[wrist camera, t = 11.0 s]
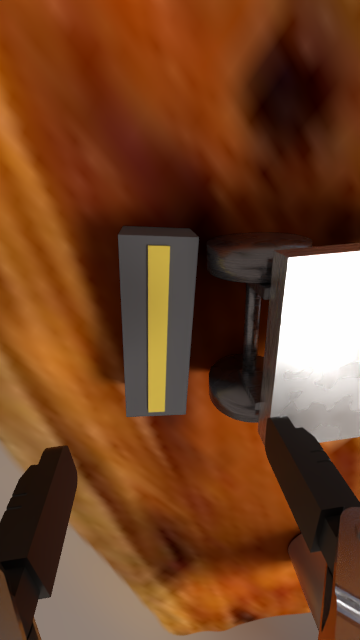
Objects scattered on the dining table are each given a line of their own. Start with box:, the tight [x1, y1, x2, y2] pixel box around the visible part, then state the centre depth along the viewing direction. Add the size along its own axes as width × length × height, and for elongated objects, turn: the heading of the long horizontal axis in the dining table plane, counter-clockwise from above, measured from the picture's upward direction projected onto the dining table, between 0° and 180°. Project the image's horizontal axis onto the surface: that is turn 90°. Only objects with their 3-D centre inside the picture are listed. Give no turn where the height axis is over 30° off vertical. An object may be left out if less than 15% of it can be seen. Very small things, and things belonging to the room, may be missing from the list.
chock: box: [118, 226, 199, 417], centre depth 19 cm, size 13×4×4 cm, turn 177°
